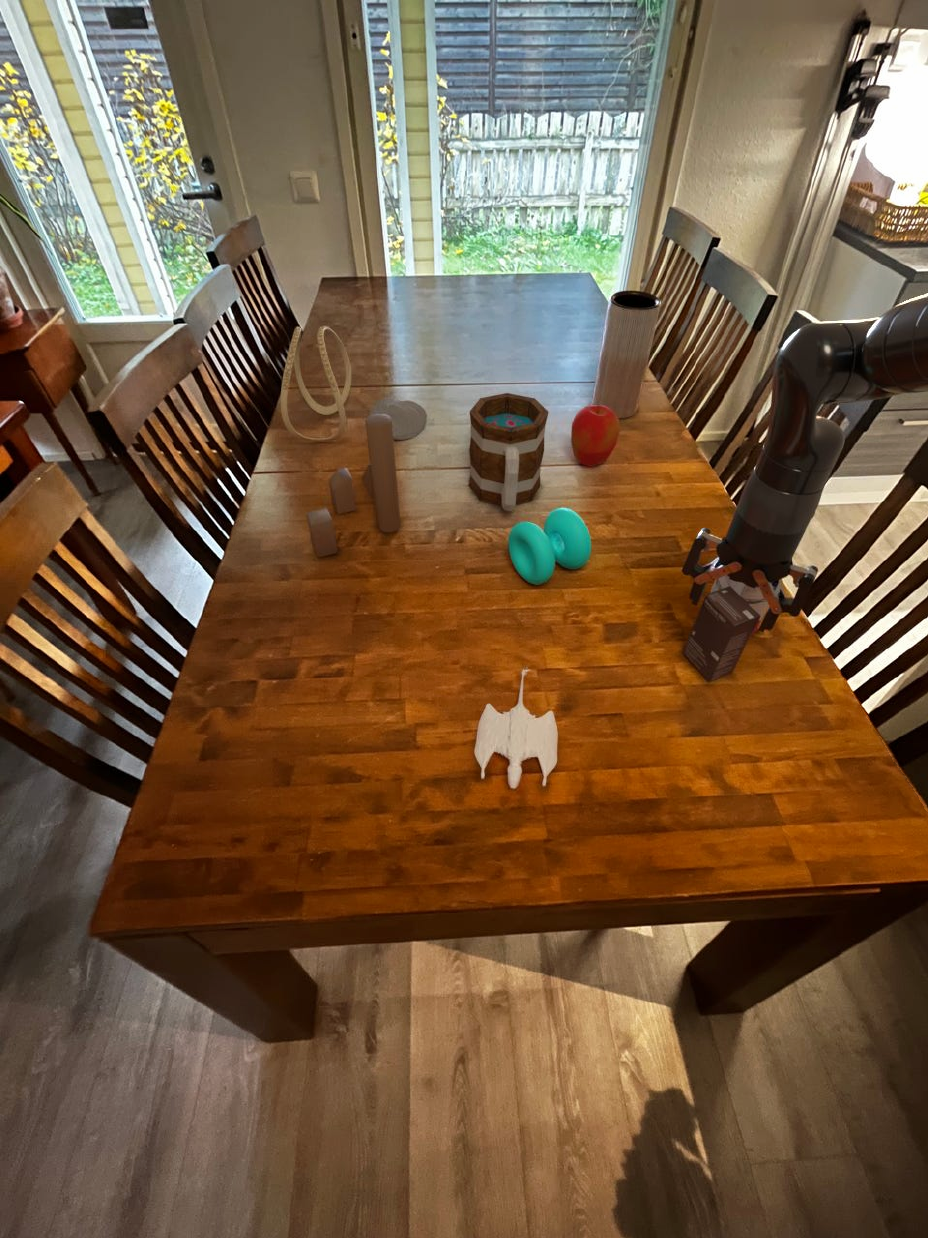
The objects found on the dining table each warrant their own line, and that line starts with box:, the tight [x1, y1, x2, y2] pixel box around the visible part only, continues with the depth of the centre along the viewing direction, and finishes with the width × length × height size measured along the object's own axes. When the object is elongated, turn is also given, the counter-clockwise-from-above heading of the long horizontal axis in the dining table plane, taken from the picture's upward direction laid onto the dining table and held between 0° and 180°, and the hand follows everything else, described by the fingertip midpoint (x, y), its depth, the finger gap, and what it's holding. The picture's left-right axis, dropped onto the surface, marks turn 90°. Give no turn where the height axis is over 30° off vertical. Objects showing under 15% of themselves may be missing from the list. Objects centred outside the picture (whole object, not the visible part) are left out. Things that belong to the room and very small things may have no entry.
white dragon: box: [473, 665, 559, 789], centre depth 78 cm, size 18×10×4 cm, turn 172°
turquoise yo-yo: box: [507, 507, 592, 585], centre depth 97 cm, size 10×10×10 cm
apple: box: [570, 404, 621, 467], centre depth 119 cm, size 9×9×12 cm
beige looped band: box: [280, 325, 352, 443], centre depth 125 cm, size 22×12×20 cm, turn 4°
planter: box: [591, 290, 662, 419], centre depth 130 cm, size 10×10×23 cm
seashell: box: [369, 396, 428, 441], centre depth 130 cm, size 12×6×10 cm
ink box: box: [709, 575, 769, 634], centre depth 90 cm, size 9×5×12 cm, turn 179°
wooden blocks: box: [305, 414, 401, 558], centre depth 104 cm, size 17×20×20 cm
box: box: [682, 586, 761, 683], centre depth 83 cm, size 6×4×12 cm
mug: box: [468, 392, 549, 512], centre depth 110 cm, size 20×14×15 cm
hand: (728, 614), depth 80 cm, fingers open, 8 cm apart
